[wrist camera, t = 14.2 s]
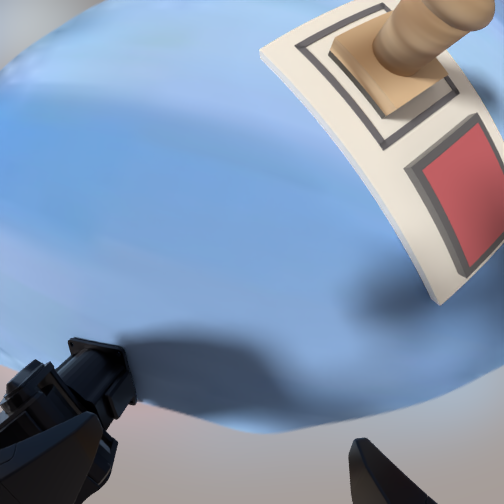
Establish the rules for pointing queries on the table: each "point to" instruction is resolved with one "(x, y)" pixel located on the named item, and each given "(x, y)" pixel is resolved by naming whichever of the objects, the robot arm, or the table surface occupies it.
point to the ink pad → (463, 192)
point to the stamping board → (382, 130)
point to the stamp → (405, 48)
